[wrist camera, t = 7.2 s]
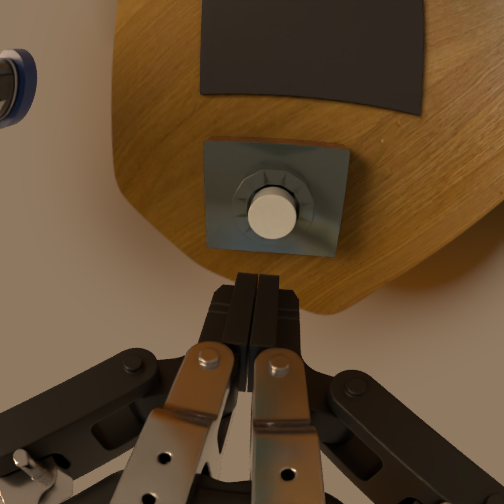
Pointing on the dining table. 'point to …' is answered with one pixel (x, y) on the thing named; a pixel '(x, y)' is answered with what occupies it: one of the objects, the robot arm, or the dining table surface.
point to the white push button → (272, 213)
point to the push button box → (274, 175)
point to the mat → (315, 50)
